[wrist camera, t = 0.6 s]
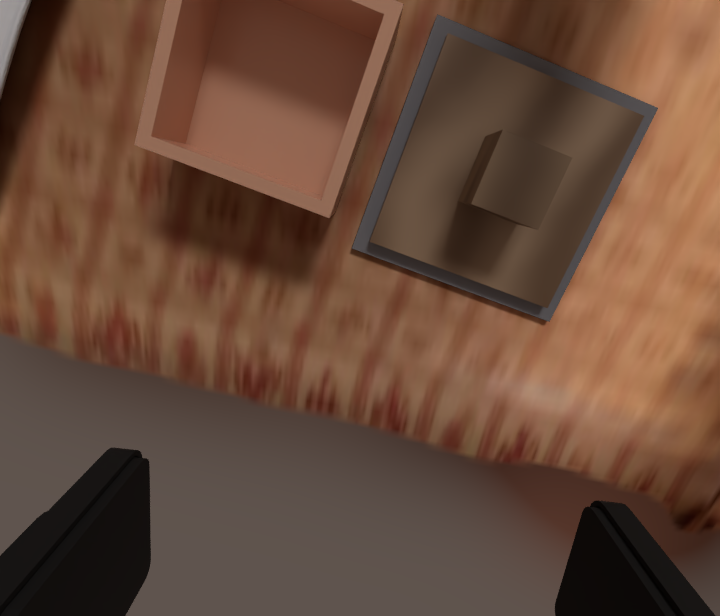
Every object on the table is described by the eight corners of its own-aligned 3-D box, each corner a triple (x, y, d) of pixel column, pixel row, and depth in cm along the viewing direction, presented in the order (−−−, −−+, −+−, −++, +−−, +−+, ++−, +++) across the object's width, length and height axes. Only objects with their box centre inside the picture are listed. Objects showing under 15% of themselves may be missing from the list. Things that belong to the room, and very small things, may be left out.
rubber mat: (654, 109, 30) (658, 108, 30) (547, 320, 35) (549, 321, 34) (436, 16, 29) (437, 14, 29) (352, 247, 33) (351, 248, 33)
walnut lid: (637, 117, 30) (686, 105, 26) (543, 305, 34) (571, 324, 29) (445, 36, 29) (461, 9, 24) (369, 240, 33) (370, 249, 28)
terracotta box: (396, 38, 30) (403, 4, 24) (335, 211, 33) (329, 218, 27) (221, -34, 29) (185, -89, 23) (176, 151, 32) (134, 144, 26)
